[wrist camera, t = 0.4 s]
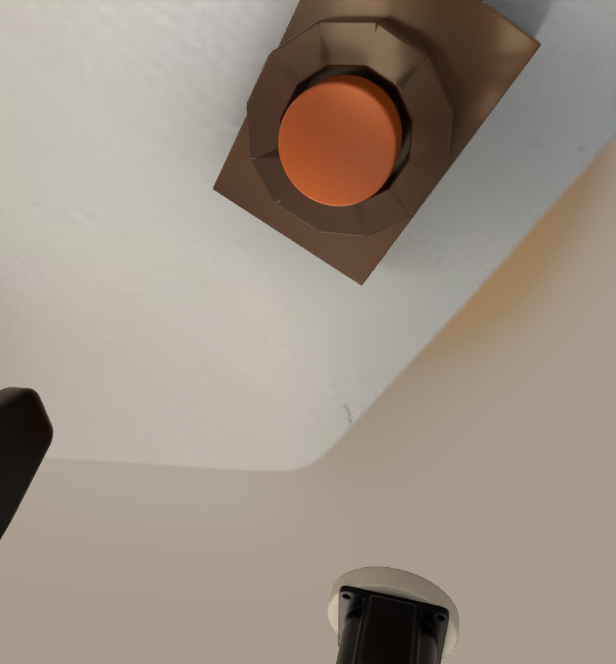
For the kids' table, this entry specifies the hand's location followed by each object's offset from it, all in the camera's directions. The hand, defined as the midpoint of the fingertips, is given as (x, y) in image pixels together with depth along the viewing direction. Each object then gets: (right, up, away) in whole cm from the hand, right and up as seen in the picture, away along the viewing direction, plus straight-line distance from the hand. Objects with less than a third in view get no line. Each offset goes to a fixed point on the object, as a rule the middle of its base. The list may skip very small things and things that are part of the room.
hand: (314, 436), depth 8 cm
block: (+2, +10, +13) cm, 16 cm away
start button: (+1, +8, +10) cm, 13 cm away
